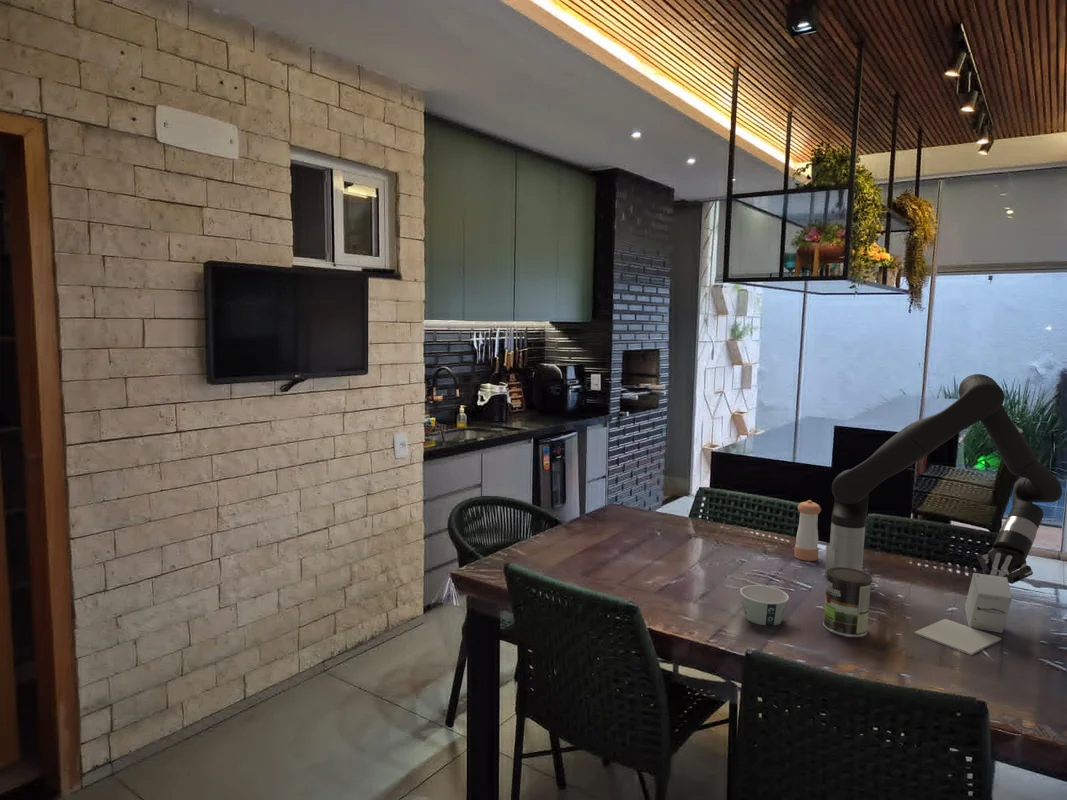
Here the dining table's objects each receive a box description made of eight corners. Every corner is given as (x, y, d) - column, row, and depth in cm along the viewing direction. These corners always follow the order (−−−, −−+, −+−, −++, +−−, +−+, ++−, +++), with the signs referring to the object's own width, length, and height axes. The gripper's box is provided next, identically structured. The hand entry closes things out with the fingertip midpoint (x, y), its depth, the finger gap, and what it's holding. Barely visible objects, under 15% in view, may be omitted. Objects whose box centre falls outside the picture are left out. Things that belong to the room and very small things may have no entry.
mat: (971, 655, 159) (971, 653, 159) (914, 633, 170) (914, 631, 169) (1000, 640, 167) (1000, 638, 167) (944, 620, 178) (945, 618, 178)
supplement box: (968, 628, 173) (977, 593, 167) (964, 606, 179) (972, 571, 173) (1002, 634, 171) (1012, 598, 164) (997, 611, 176) (1007, 576, 170)
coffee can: (836, 638, 166) (840, 582, 165) (815, 620, 177) (818, 567, 175) (876, 637, 167) (881, 581, 166) (853, 619, 177) (857, 566, 176)
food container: (733, 607, 183) (734, 584, 183) (778, 609, 183) (780, 585, 182) (745, 627, 172) (747, 602, 171) (794, 628, 171) (795, 603, 170)
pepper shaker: (821, 561, 222) (825, 503, 220) (798, 560, 222) (802, 502, 220) (812, 553, 229) (816, 497, 227) (791, 553, 229) (794, 497, 227)
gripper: (1048, 552, 177) (1025, 608, 171) (991, 539, 187) (967, 592, 182) (1042, 535, 173) (1017, 592, 167) (984, 523, 184) (959, 576, 178)
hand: (991, 592), depth 174 cm, fingers closed
